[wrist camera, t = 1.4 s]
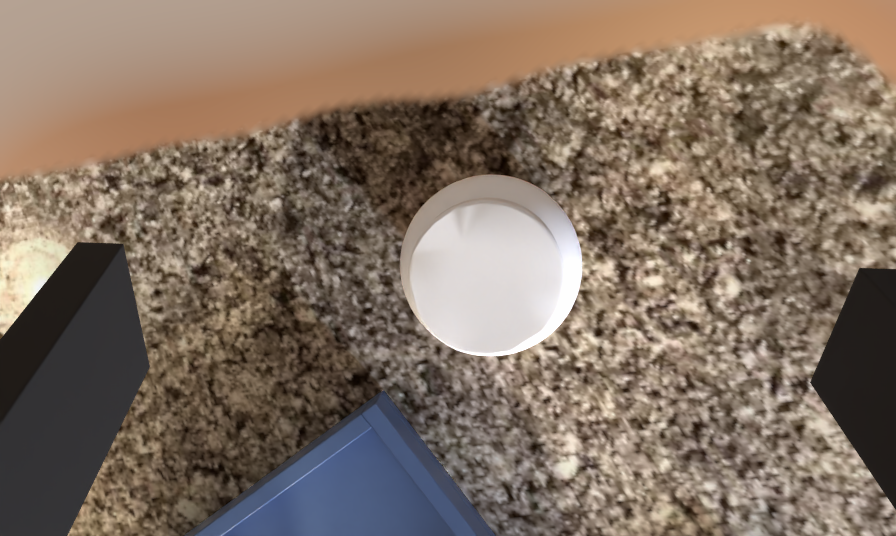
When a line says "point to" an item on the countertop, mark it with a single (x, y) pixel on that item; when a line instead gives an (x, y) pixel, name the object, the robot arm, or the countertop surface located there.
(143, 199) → the countertop surface
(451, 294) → the pill bottle
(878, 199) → the countertop surface
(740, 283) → the countertop surface
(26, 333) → the robot arm
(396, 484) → the blue tray
